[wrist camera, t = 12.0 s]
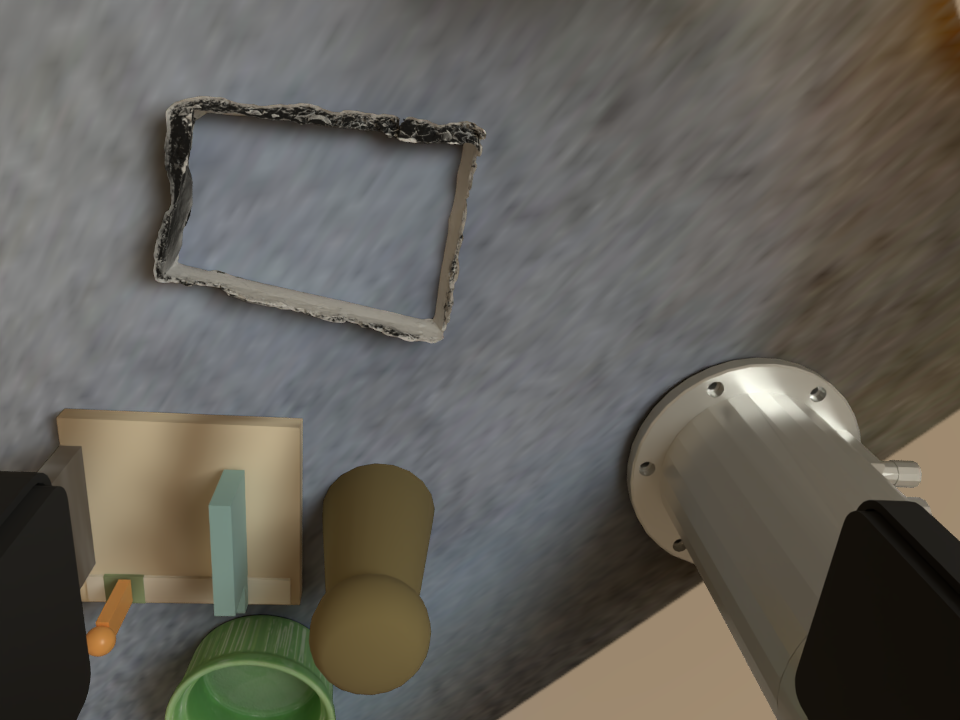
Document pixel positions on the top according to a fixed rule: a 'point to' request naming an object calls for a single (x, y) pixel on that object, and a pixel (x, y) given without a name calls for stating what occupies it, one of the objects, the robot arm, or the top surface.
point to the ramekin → (253, 675)
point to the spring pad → (229, 544)
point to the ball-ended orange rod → (110, 620)
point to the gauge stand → (178, 501)
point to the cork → (373, 580)
